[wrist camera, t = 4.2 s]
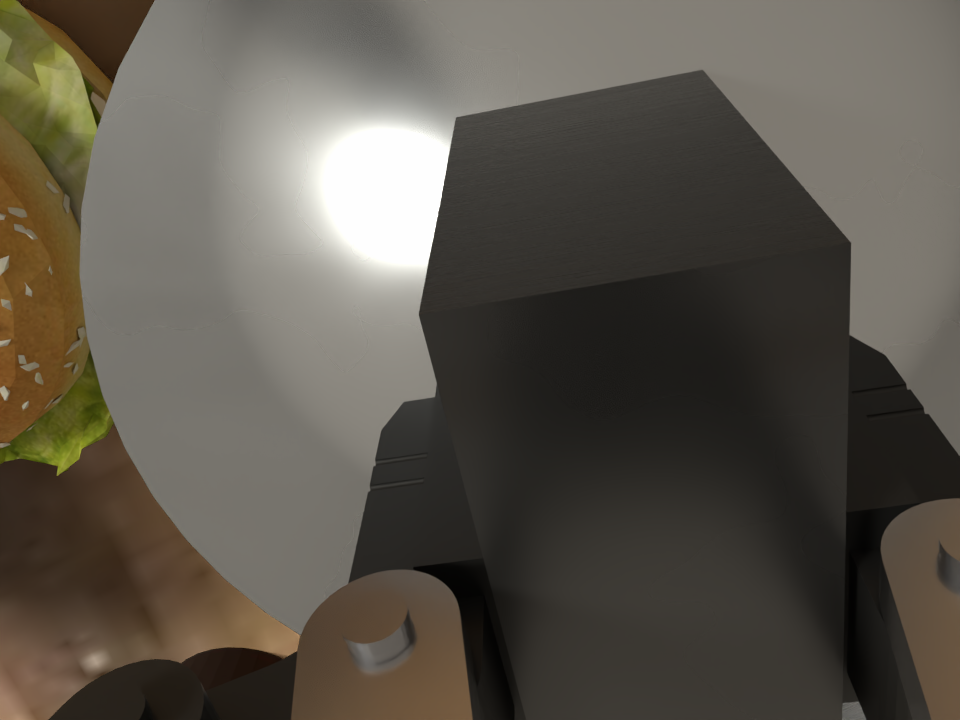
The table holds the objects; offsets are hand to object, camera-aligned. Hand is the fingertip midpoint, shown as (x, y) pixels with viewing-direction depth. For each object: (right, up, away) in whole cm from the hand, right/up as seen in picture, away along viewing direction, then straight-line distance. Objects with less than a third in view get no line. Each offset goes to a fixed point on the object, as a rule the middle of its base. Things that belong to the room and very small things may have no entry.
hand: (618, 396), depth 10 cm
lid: (0, +1, +2) cm, 3 cm away
